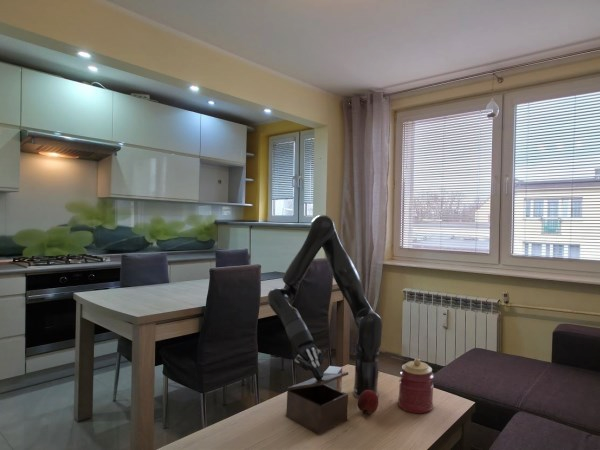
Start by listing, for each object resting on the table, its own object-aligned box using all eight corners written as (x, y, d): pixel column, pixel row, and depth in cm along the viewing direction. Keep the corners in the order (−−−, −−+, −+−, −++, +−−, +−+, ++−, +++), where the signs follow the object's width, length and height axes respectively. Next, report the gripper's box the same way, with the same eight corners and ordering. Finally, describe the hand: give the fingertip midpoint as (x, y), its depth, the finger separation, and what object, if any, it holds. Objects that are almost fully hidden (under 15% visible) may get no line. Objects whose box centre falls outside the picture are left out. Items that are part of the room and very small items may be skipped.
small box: (335, 402, 142) (337, 374, 142) (321, 400, 143) (323, 372, 143) (341, 393, 150) (342, 367, 150) (328, 391, 151) (329, 365, 151)
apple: (382, 414, 135) (383, 391, 135) (365, 420, 130) (366, 397, 130) (369, 406, 141) (370, 384, 141) (352, 411, 136) (353, 389, 136)
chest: (347, 420, 130) (348, 394, 130) (319, 434, 120) (320, 406, 120) (313, 403, 140) (314, 379, 140) (286, 416, 131) (287, 390, 131)
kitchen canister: (404, 395, 151) (406, 350, 151) (436, 402, 146) (438, 357, 146) (392, 408, 140) (395, 360, 140) (427, 417, 134) (429, 367, 134)
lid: (348, 374, 130) (348, 372, 130) (321, 385, 120) (320, 382, 120) (315, 379, 140) (314, 377, 141) (287, 390, 131) (287, 387, 131)
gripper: (289, 332, 131) (311, 378, 123) (317, 326, 141) (339, 368, 133) (279, 344, 134) (300, 389, 126) (307, 337, 144) (328, 378, 136)
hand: (320, 378), depth 130 cm, fingers closed
